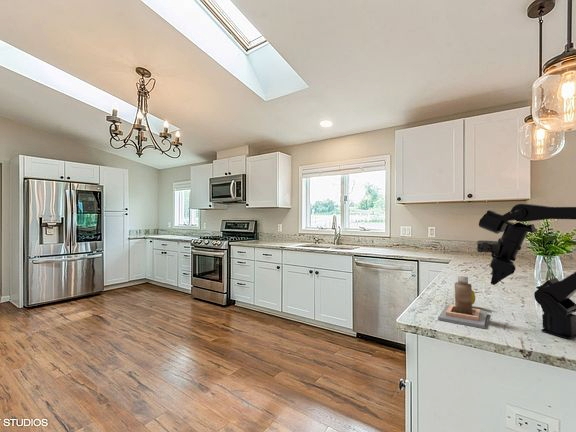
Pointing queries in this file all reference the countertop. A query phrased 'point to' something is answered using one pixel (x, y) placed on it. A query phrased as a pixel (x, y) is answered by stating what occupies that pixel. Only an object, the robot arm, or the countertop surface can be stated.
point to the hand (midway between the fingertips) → (492, 279)
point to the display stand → (464, 317)
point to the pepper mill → (463, 296)
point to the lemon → (473, 297)
